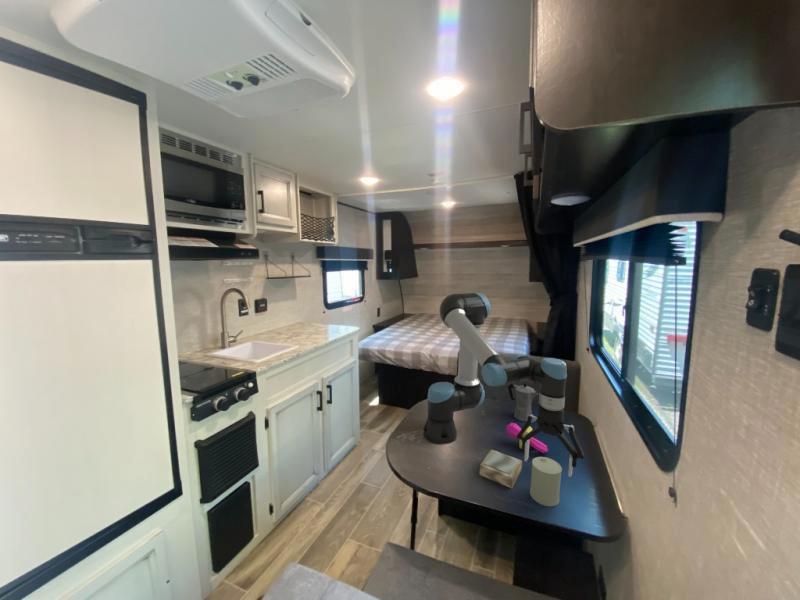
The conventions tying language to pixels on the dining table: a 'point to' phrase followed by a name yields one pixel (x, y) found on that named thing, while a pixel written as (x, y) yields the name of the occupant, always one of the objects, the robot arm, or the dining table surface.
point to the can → (545, 481)
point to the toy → (515, 429)
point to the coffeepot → (522, 400)
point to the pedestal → (501, 468)
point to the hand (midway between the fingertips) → (547, 466)
